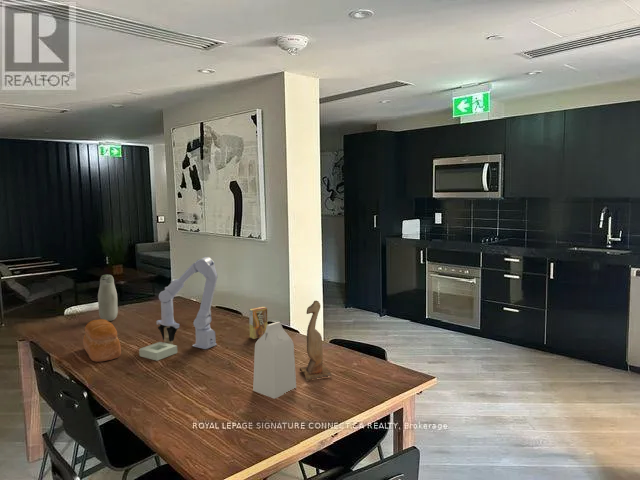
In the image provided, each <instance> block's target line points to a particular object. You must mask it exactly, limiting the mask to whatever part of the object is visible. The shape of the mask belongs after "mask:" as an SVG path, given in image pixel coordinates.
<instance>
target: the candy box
mask: <svg viewBox="0 0 640 480" xmlns="http://www.w3.org/2000/svg"><path fill="white" fill-rule="evenodd" d="M248 311H249V312H248V315H249V338H250V339H253V340H255V339H259V338H260V337H261V336H262V335H263V334H264V333H265V331H266V327H267V325H268V307H266V306H259V307H254V308H250V309H249V310H248Z"/></svg>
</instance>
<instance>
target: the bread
mask: <svg viewBox="0 0 640 480" xmlns="http://www.w3.org/2000/svg"><path fill="white" fill-rule="evenodd" d="M84 331H85V332H84V336H83V340H82V344H83V348H84V350H85V352H86V353H87V355H88V357H89V359H90V360H91V361H92V362H96V363H97V362H99V363H100V362H105V361H111V360H115V359H117V358H119V357H120V356H121V354H122V347H121V342H120V339H119V337H118V331H117V329H116V327H115V326H114V324H113V323H112V322H111V321H107V320H104V319H101V318H100V319H94V320H93V319H92V320H90V321H89V322H87V324H86V325H85V327H84Z"/></svg>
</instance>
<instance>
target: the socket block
mask: <svg viewBox="0 0 640 480" xmlns="http://www.w3.org/2000/svg"><path fill="white" fill-rule="evenodd" d="M138 353H139V357H142V358H144V359H149V360H153V361H157V362H158V361H160V360H162V359H165V358H167V357H170V356H174V355H175V354H178V345H175V344H173V345H172V344H168V343H164V341H158V342H155V343H152V344H149V345H146V346H143V347H141V348H139V350H138Z"/></svg>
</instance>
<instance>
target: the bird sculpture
mask: <svg viewBox="0 0 640 480" xmlns="http://www.w3.org/2000/svg"><path fill="white" fill-rule="evenodd" d="M320 310H321V303H320V302H319V301H318V300H314V301H313V303H312V304H310V305H309V306H308V307H307V309H306V315H309V314H311V317H310V320H309V322H308V326H307V330H306V352H307V355H308V358H309V361H308V364H307V366H303V367H299V372H300V371H301V372H302V373H303V374H304V375H305V381H306V380H311V381H312V379H317V378H322V377H328V376H331V377H332V372H331V371H330V370H329V368H328V367H327V366H326V364H323V363H324V362H323V359H324V358H323V337H322V335H321V333H320V332H319V331H318V330H317V329H316V325H317V324H316V323H317V319H318V315H319V312H320Z"/></svg>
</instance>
